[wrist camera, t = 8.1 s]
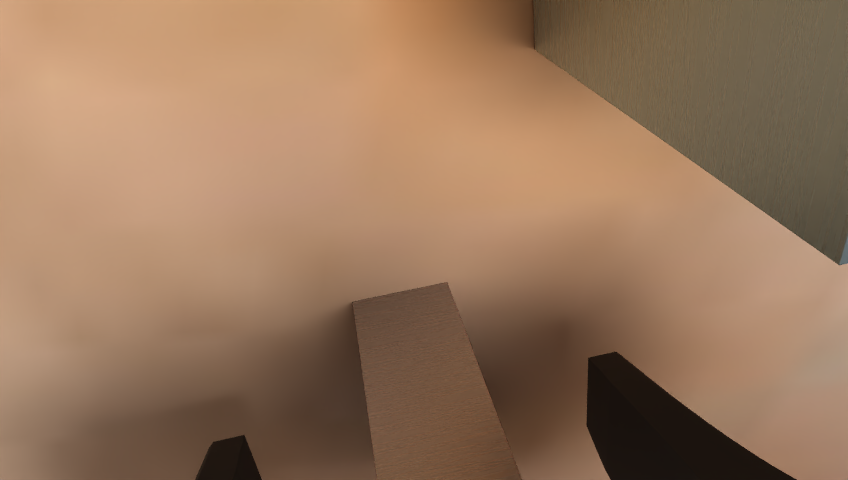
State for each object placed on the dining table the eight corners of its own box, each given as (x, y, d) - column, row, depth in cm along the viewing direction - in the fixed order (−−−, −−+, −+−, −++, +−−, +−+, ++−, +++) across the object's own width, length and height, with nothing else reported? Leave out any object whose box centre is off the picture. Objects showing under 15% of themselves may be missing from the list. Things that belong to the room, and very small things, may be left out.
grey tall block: (466, 442, 16) (531, 656, 11) (388, 460, 15) (424, 684, 11) (447, 281, 13) (522, 479, 9) (352, 301, 13) (381, 513, 8)
